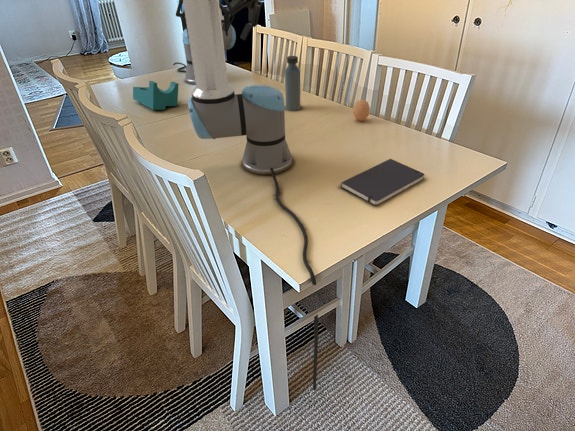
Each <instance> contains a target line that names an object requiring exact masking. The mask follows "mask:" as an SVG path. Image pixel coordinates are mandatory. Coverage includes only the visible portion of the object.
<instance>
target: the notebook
mask: <svg viewBox="0 0 575 431" xmlns="http://www.w3.org/2000/svg"><path fill="white" fill-rule="evenodd" d="M424 176H425V173H424V172H422V171H420V170H417V169H415V168H413V167H410V166H408V165H406V164H404V163H401V162H399V161H397V160H395V159H393V158H389V159H387V160H385V161H382V162H380V163H379V164H377V165H375V166H372V167H370V168H368V169H366V170H364V171H362V172H360V173H358V174H356V175H353V176H351V177H350V178H348V179H345V180H344V181H341V182H340V183H341V184H340V187H341V188H342V189H344V190H345V191H347V192H349V193H350V194H353V195H355V196H356V197H358V198H360V199H362V200H363V201H365V202H367V203H369V204H371V205H373V206H379V205H381V204H382V203H384V202H386V201H388V200H390V199H391V198H393V197H395V196H397V195H398V194H400V193H402V192H404V191H406V190H407V189H409V188H411V187H413V186H415V185H416V184H418V183H420V182H422V181H423V180H424Z"/></svg>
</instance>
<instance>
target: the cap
mask: <svg viewBox="0 0 575 431" xmlns="http://www.w3.org/2000/svg"><path fill="white" fill-rule="evenodd" d="M298 59H299V57H298V56H297V55H288V56H286V63H287V64H288V65H289V64H296V65H297V64H298V63H299V60H298Z"/></svg>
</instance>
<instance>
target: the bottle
mask: <svg viewBox="0 0 575 431" xmlns="http://www.w3.org/2000/svg"><path fill="white" fill-rule="evenodd" d="M284 89H285V90H284V92H285V110H286V111H291V112H295V111H299V110H300V109H301V69H300V67H299V66H298V65H297V63H296V64H289V63H288V65H287V66H286V68H285V69H284Z"/></svg>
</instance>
